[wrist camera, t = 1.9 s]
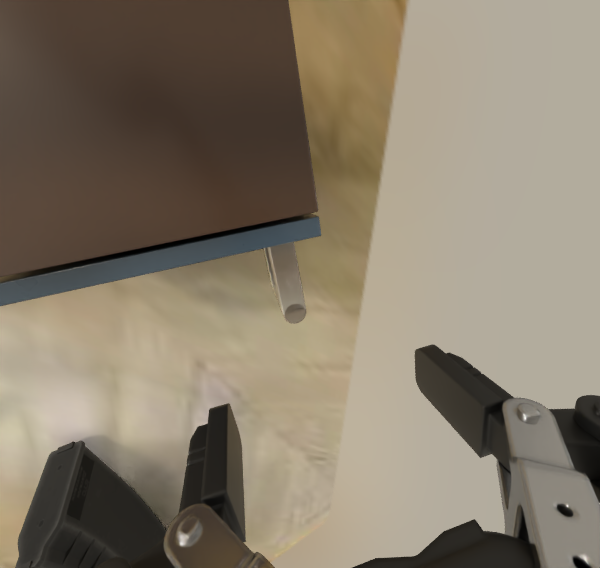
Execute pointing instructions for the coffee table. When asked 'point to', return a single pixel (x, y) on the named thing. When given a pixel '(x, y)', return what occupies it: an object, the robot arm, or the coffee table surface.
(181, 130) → the cupboard
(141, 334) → the coffee table surface
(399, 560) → the robot arm
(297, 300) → the cupboard door
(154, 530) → the magazine
